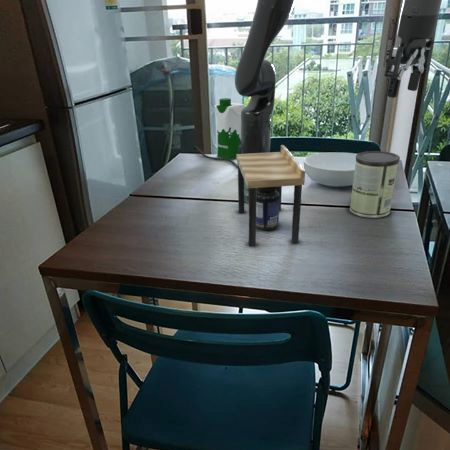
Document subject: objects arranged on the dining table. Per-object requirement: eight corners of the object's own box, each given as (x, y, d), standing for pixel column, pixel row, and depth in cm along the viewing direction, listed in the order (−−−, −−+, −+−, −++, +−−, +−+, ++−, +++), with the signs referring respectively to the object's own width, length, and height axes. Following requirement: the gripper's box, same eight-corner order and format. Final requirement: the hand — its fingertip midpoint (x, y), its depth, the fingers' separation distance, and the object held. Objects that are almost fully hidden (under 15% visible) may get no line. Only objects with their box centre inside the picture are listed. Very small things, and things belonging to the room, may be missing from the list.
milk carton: (213, 157, 165) (211, 99, 154) (229, 152, 170) (228, 95, 160) (231, 160, 160) (230, 101, 149) (247, 155, 165) (247, 97, 155)
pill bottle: (278, 221, 111) (280, 178, 105) (278, 231, 106) (280, 186, 100) (254, 221, 112) (254, 178, 106) (253, 230, 106) (253, 186, 101)
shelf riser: (237, 211, 118) (236, 147, 109) (281, 208, 118) (283, 145, 109) (247, 246, 99) (247, 173, 90) (300, 243, 100) (305, 170, 91)
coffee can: (353, 201, 121) (360, 149, 113) (392, 206, 117) (402, 152, 110) (345, 215, 113) (352, 159, 106) (386, 220, 109) (397, 163, 102)
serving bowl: (376, 176, 139) (379, 154, 136) (365, 197, 124) (368, 173, 120) (311, 170, 147) (313, 149, 143) (293, 189, 131) (295, 166, 127)
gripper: (421, 7, 99) (404, 85, 109) (385, 13, 92) (370, 96, 102) (453, 9, 94) (432, 91, 104) (418, 15, 87) (399, 102, 97)
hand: (402, 93), depth 103 cm, fingers open, 8 cm apart
